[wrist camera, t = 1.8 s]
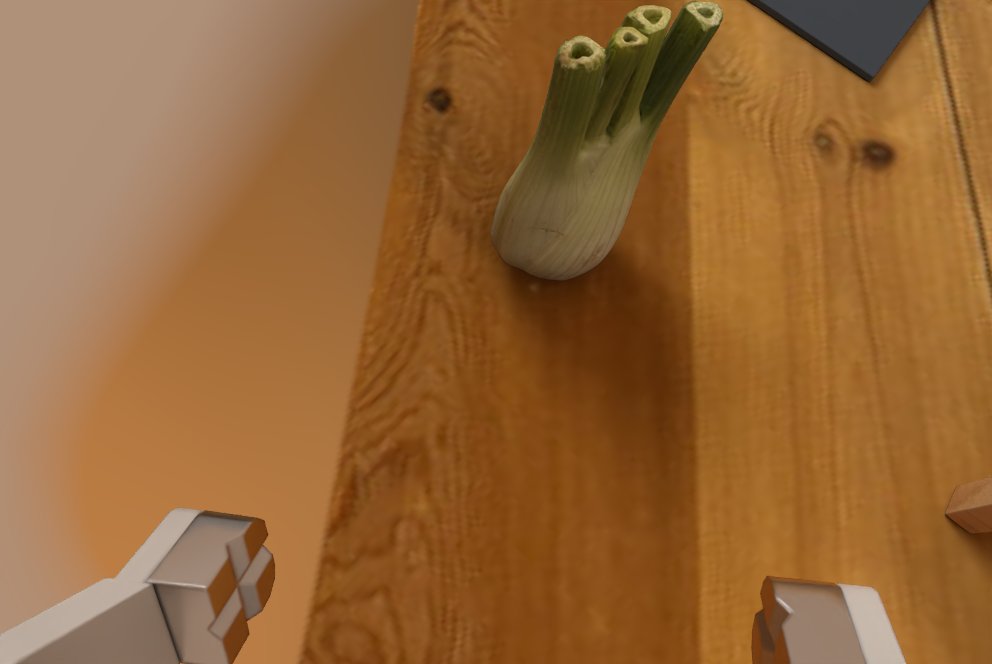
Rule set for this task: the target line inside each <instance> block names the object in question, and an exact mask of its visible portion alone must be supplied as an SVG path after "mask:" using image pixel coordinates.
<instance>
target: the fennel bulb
mask: <svg viewBox="0 0 992 664" xmlns="http://www.w3.org/2000/svg"><path fill="white" fill-rule="evenodd" d="M722 18H723V11H722V10H721V8H720V7H719V6H718V4H715V3H712V2H709V1H708V2H701V1H692V2H689V3H687V4H685V5H684V6H683V8H682V9H681V11H680V13H679V15H678V17H677V18H676V20H675V21H674V23H673V25H672V27H671V28H670V30H669V32H668V34H667V36H666V37H665V35H666V32H667V29H668V26H669V23H670V20H671V11H670V10H669V9H668V8H665V7H658V6H654V5H647V6H645V5H644V6H639V7H638V8H636V9H634V10H632V11H631V12H629V13H628V14H626V16H625V18H624V21H623V23H622V26H621V27H619V28H618V29H617V30H616V31H615V32H614V33H613V35H612V37H611V39H610V41H609V43H608V45H607V47H606V49H605V50H604V49H603V47H601V46H599V45H598V44H597V43H595V42H594V41H592V40H591V39H590V38H587V37H584V36H576V37H574V38H573V39H571V40H568V39H567V40H565V41H564V43H563V44H562V45H561V46H560V47H559V49H558V52H557V55H556V58H555V63H554V68H553V73H552V78H551V82H550V86H549V91H548V95H547V99H546V102H545V106H544V109H543V113H542V117H541V120H540V123H539V126H538V129H537V132H536V135H535V138H534V140H533V142H532V144H531V146H530V148H529V150H528V151H527V153H526V155H525V157H524V159H523V160H522V162H521V163H520V165H519V166H518V168H517V169H516V171H515V172H514V174H513V175H512V176H511V178H510V179H509V181H508V182H507V184H506V186H505V187H504V189H503V191H502V193H501V196H500V198H499V202H498V205H497V208H496V210H495V216H494V221H493V226H492V230H491V238H492V242H493V245H494V247H495V249H496V250H497V251H498V253H499V255H500V257H501V258H502V259H503V261H504V262H506V263H507V264H509V265H511V266H513V267H516V268H519V269H522V270H524V271H525V272H527V273H528V274H530V275H533V276H535V277H538V278H542V279H549V280H559V281H563V280H568V279H571V278H574V277H577V276H579V275H581V274H584V273H586V272H587V271H589V270H591V269H593V268H594V267H596V266H597V265H598V264H599V263H600V262H601V261H602V260H603V259H604V258H605V257H606V255H607V254H608V253H609V251H610V250H611V249H612V247H613V246H614V244H615V243H616V241H617V239H618V237H619V235H620V233H621V230H622V228H623V226H624V223H625V220H626V218H627V215H628V212H629V209H630V206H631V203H632V199H633V197H634V194H635V191H636V188H637V185H638V183H639V180H640V177H641V174H642V171H643V169H644V166H645V164H646V161H647V159H648V156H649V154H650V151H651V148H652V145H653V142H654V140H655V137H656V134H657V131H658V129H659V127H660V125H661V122H662V121H663V118H664V117H665V114H666V113H667V111H668V109H669V107H670V105H671V104H672V102H673V100H674V98H675V97H676V95H677V93H678V92H679V90H680V88H681V87H682V85H683V83H684V81H685V80H686V78H687V77H688V75H689V73H690V72H691V70H692V68H693V67H694V65H695V64H696V62H697V61H698V59H699V58H700V56H701V55H702V53H703V51H704V50H705V49H706V47H707V45H708V43H709V42H710V40H711V39H712V37H713V36H714V34H715V33H716V31H717V29H718V28H719V26H720V23H721V21H722ZM664 37H665V38H664Z"/></svg>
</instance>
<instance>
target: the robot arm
mask: <svg viewBox="0 0 992 664" xmlns="http://www.w3.org/2000/svg"><path fill="white" fill-rule="evenodd" d="M267 536H268V532H267V529H266V525H265V521H264V520H262V519H259V518H254V517H247V516H241V515H233V514H227V513H219V512H212V511H201V510H195V509H188V508H181V507H179V508H176V509H175V510H173V511H171V512H169V513H168V515H167V516H166V517H165V518H164V519H163V520H162V522H161V523H160V524H159V525H158V526H157V528H156V529H155V530H154V531H153V532H152V534H151V535H150V536H149V537H148V539H147V540H146V541H145V542H144V543H143V545H142V546H141V547H140V548H139V549H138V551H137V552H136V553H135V554H134V555H133V557H132V558H131V559H130V560H129V561H128V563H127V564H126V565H125V566H124V567H123V569H122V570H121V571H120V572H119V573H118V575H117V576H116V577H115V578H114V579H112V578H105V579H103V580H101V581H99V582H97V583H95V584H93V585H92V586H90V587H88V588H86V589H84V590H82V591H80V592H78V593H77V594H75V595H73V596H71V597H69V598H67V599H65V600H63V601H62V602H60V603H58V604H56V605H54V606H52V607H51V608H49V609H47V610H45V611H43V612H41V613H39V614H38V615H36V616H34V617H32V618H30V619H28V620H26V621H24V622H22V623H21V624H19V625H17V626H15V627H13V628H11V629H10V630H8V631H6V632H4V633H2V634H0V664H180V663H184V664H233V662H234V660H235V658H236V657H237V655H238V653H239V651H240V650H241V648H242V646H243V644H244V642H245V641H246V639H247V637H248V635H249V629H248V624H247V621H248V620H250V619H251V618H252V617H254V616H256V615H257V614H259V613H260V612H262V610H263V608H264V607H265V605H266V603H267V601H268V599H269V597H270V594H271V590H272V587H273V583H274V580H275V563H274V558H273V554H272V553H271V552H270V551H269V550H268V549H267V548H266V547H265V546H264V545H263V543H264V541H265V540H266V538H267ZM760 595H761V600H762V605H763V609H762V610H761V611H759V612H758V613H756V614H755V619H754V624H753V629H752V647H751V648H752V661H753V664H907V663H906V661H905V658H904V656H903V653H902V651H901V648H900V646H899V643H898V641H897V638H896V636H895V633H894V631H893V628H892V626H891V623H890V621H889V618H888V616H887V613H886V611H885V608H884V606H883V603H882V601H881V598H880V596H879V593H878V592H877V591H876V590H875V589H874V588H873V587H867V586H857V585H848V584H839V583H837V584H834V583H830V582H820V581H811V580H801V579H792V578H782V577H773V576H767V577H766V578H765V580H764V581H763V585H762V589H761V593H760Z"/></svg>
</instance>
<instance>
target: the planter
mask: <svg viewBox="0 0 992 664" xmlns="http://www.w3.org/2000/svg"><path fill="white" fill-rule="evenodd" d="M945 514H946V515H947V516H948V517H950V518H951V519H952V520H953V521H955V522H956V523H957V524H959V525H960V526H961V527H963V528H964V529H965V530H967V531H968V532H969V533H971V534H974V533H982V532H992V477H990V478H987V479H983V480H979V481H975V482H971V483H967V484H963V485H959V486H957V487H956V490H955V492H954V494H953V496H952V499H951V501H950V503H949V505H948V508H947V510H946V512H945Z"/></svg>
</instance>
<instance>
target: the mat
mask: <svg viewBox="0 0 992 664" xmlns="http://www.w3.org/2000/svg"><path fill="white" fill-rule="evenodd" d="M749 1H750V2H752V3H753V4H755V5H756V6H757V7H759V8H760V9H762V10H763V11H765V12H766V13H768V14H769V15H771V16H772V17H774V18H775V19H777V20H778V21H780V22H781V23H783V24H784V25H786V26H787V27H789V28H790V29H792V30H793V31H794V32H796V33H797V34H799V35H800V36H802V37H803V38H805V39H806V40H808V41H809V42H811V43H812V44H814V45H815V46H817V47H818V48H820V49H821V50H823V51H824V52H826V53H827V54H829V55H830V56H831V57H833V58H834V59H836V60H837V61H839V62H840V63H842V64H843V65H845V66H846V67H848V68H849V69H851V70H852V71H854V72H855V73H857V74H858V75H860V76H861V77H863V78H864V79H866V80H867V81H868V82H870V81H871V80H872V79H873V78H874V77H875V75H876V74H877V73H878V71H879V70H880V68H881V67H882V66H883V64H884V63H885V62H886V60H887V59H888V57H889V56H890V55H891V53H892V52H893V51H894V49H895V48H896V46H897V45H898V44H899V42H900V41H901V40H902V38H903V37H904V36H905V34H906V33H907V31H908V30H909V29H910V27H911V26H912V25H913V23H914V22H915V20H916V19H917V18H918V16H919V15H920V14H921V12H922V11H923V9H924V8H925V7H926V5H927V4H928V3H929V1H930V0H749Z"/></svg>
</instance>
